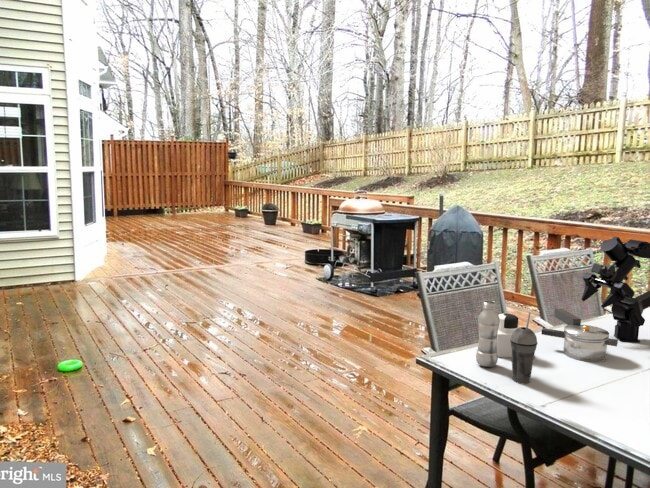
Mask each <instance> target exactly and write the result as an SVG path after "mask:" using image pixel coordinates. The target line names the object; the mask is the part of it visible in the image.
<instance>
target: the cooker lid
mask: <svg viewBox="0 0 650 488" xmlns="http://www.w3.org/2000/svg"><path fill="white" fill-rule="evenodd" d="M553 316H554V318H556V319H557V320H559V321H561V322H562V323H564V324H566V325H565V326H564V327H563V331H564V332H565V333H566V334H567V335H569V336H572V337H575V338H579V339H584V340H593V341H600V340H606V339H608V338H609V336H610V332H609V331H608V330H606V329H604V328H602V327H598V326H593V325H588V324H582V323H581V321H582V319H581V318H580V317H578V316H576V315H575V314H573V313H571V312H569V311H567V310H565V309H564V308H554V315H553Z"/></svg>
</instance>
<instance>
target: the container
mask: <svg viewBox="0 0 650 488" xmlns="http://www.w3.org/2000/svg"><path fill="white" fill-rule="evenodd" d="M498 316H499V318H500V324H499V328H498V334H497V354H498V358H512V348H511V341H510V339H511V336H512V333H513V332H514V331H515V330H516V329H518V328H519V327H518V326H519V318H518V316H517V315H515V314H513V313H512V314H511V313H500V314H498Z"/></svg>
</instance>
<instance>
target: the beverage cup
mask: <svg viewBox="0 0 650 488" xmlns="http://www.w3.org/2000/svg"><path fill="white" fill-rule="evenodd" d="M531 313H532V312H530V311H529V312H528V314H527V321H526V326H525V327H523V326H521V327H518V329H516V330H515V331H514V332H513V333H512V336H511V339H510V341H511V348H512V357H511V372H512V373H511V375H512V381H513V380H514V381H513V382H515V383H517V382H518V383H517V384H521V383H524V384H526V383H527V384H529V383H530V382H531V381H530V380H531V377H532V371H533V365H534V359H535V352H536V350H537V346H538V339H537V335H536V334H535V332H534V331H533V330H532V329H530V328H529V324H530V319H531ZM527 384H526V385H527Z"/></svg>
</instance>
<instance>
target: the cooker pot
mask: <svg viewBox="0 0 650 488" xmlns="http://www.w3.org/2000/svg"><path fill="white" fill-rule="evenodd" d="M540 335H541V336H550V337H555V338H561V339H563V350H562V351H563V355H565V356H566V357H568V358H571V359H574V360H578V361H582V362H588V363H589V362H590V363H600V362H604V361H605V360H606V358H607V350H608V348H607V347H608V346H613V347H615V348H617V346H618V343H619V342H618V341H619V340H618V339H617V338H608V339H606V340H600V341H593V340H584V339H579V338H575V337H572V336H569V335H567V334H566V333H565V332H564V330H557V329H552V328H551V329H550V328H545V327H542V329H541V334H540Z"/></svg>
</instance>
